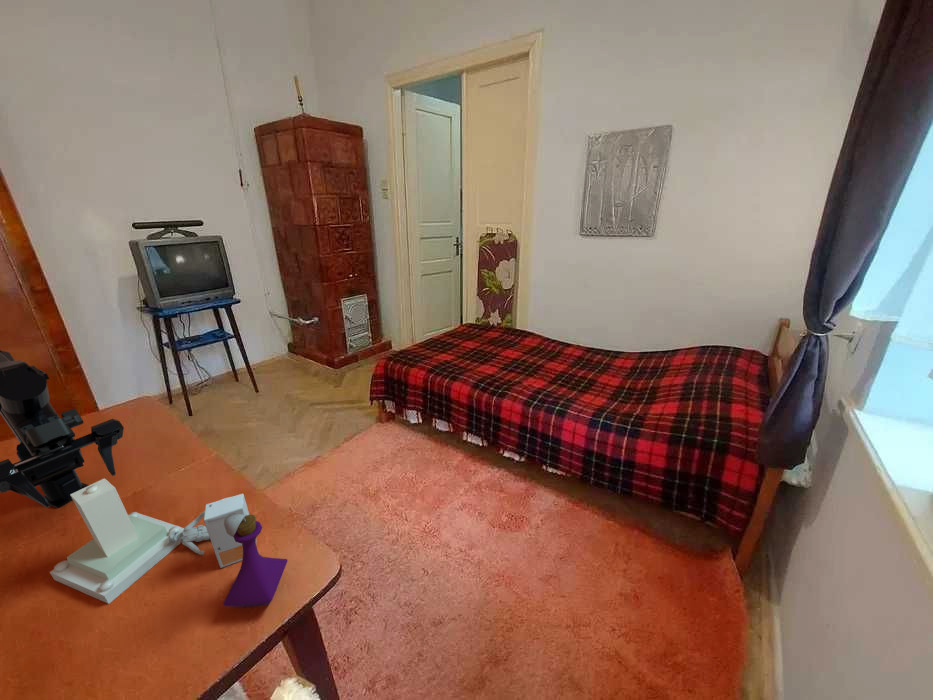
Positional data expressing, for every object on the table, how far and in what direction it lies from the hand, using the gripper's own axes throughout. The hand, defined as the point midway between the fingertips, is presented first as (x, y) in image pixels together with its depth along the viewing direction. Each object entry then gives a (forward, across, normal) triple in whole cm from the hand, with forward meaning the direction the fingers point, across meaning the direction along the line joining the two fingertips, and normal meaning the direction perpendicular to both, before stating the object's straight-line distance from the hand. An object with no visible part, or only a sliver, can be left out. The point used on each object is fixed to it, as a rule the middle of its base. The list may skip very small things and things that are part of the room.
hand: (82, 489), depth 69 cm
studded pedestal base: (+14, 0, +4) cm, 15 cm away
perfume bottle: (+35, +9, -16) cm, 40 cm away
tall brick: (+12, 0, +1) cm, 12 cm away
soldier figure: (+21, +10, -3) cm, 24 cm away
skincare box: (+27, +11, -9) cm, 31 cm away
